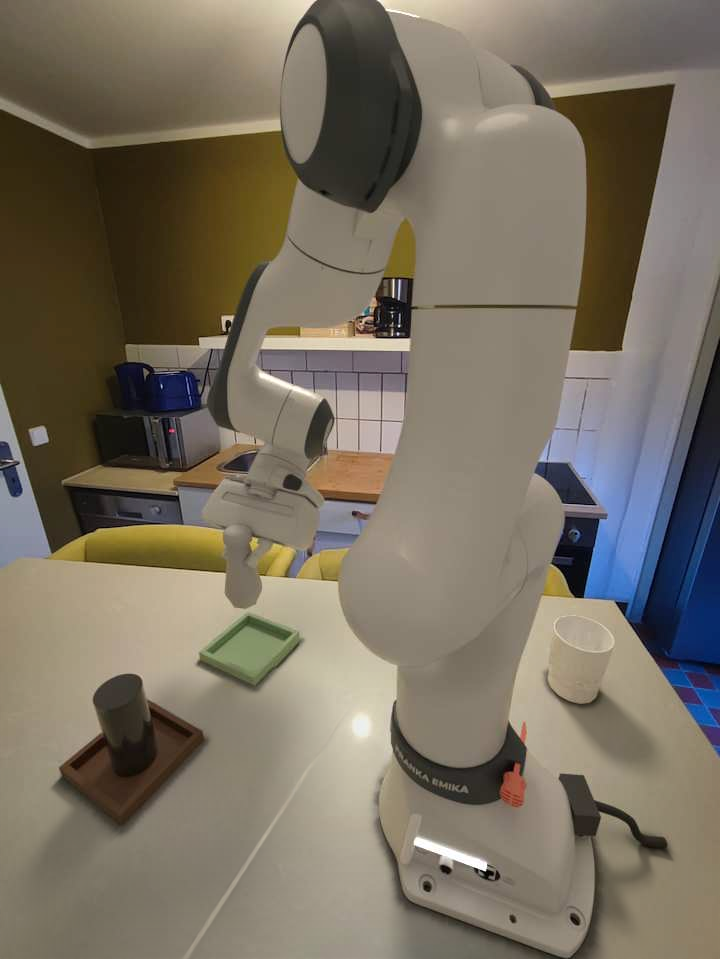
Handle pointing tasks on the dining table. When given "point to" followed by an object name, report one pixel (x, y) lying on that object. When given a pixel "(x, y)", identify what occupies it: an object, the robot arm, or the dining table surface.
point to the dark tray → (130, 793)
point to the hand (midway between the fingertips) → (237, 563)
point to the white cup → (578, 657)
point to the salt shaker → (240, 568)
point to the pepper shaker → (126, 724)
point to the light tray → (250, 647)
